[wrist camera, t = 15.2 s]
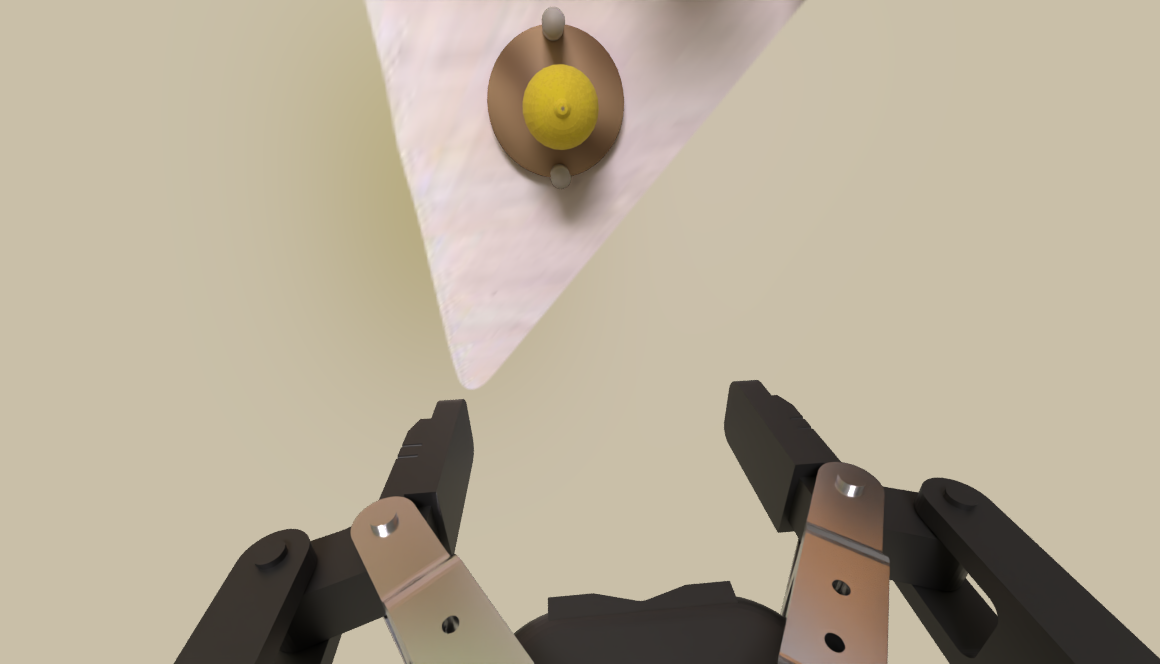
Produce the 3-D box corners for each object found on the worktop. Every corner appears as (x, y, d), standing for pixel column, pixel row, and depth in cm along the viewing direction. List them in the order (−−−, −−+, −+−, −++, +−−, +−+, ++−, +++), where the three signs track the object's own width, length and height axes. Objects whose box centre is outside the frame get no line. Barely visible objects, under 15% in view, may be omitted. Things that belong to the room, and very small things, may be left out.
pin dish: (532, -9, 33) (531, -24, 29) (648, 84, 36) (659, 81, 32) (465, 127, 36) (456, 129, 33) (575, 200, 40) (578, 209, 36)
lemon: (590, 148, 37) (600, 157, 30) (524, 142, 36) (518, 151, 29) (596, 72, 34) (609, 63, 27) (525, 65, 34) (520, 53, 27)
